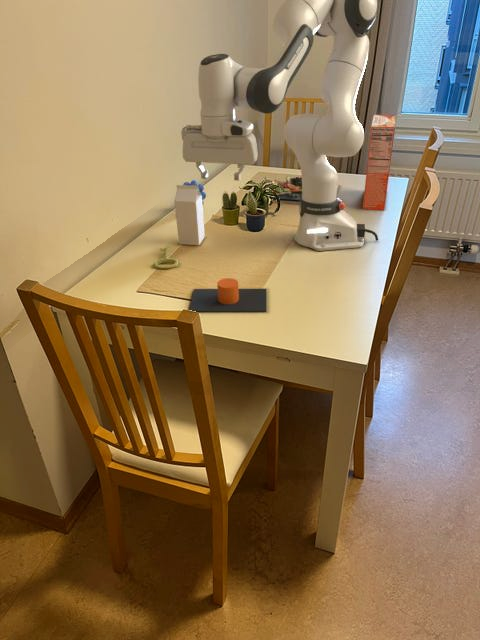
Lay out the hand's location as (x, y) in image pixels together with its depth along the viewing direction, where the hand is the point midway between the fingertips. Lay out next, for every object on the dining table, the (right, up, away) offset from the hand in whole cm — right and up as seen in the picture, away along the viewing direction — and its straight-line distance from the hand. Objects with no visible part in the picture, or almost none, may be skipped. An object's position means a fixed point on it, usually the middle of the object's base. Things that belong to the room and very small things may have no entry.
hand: (221, 179), depth 136 cm
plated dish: (+28, +15, +74) cm, 81 cm away
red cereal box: (+59, +9, +64) cm, 87 cm away
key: (-18, -20, +20) cm, 33 cm away
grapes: (-13, +4, +59) cm, 61 cm away
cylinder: (+2, -33, -3) cm, 33 cm away
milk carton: (-11, -12, +33) cm, 37 cm away
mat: (+2, -33, -3) cm, 34 cm away
